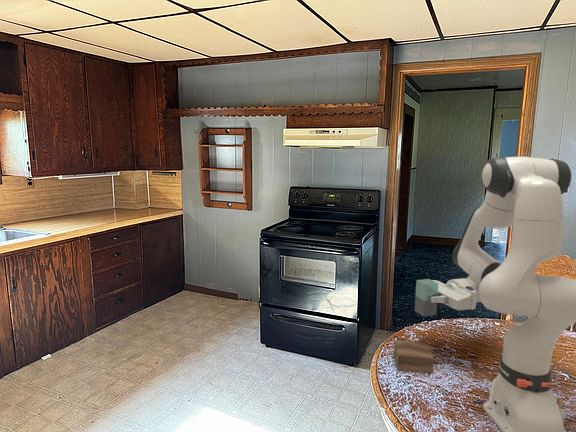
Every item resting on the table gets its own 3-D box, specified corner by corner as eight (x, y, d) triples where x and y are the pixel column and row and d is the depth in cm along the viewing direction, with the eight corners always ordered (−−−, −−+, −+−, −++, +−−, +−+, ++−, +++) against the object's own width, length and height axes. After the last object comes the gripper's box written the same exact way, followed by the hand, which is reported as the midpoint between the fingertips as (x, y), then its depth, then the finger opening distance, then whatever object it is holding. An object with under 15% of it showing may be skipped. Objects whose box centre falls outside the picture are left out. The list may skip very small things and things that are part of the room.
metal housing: (436, 314, 136) (438, 283, 134) (423, 316, 135) (425, 284, 133) (426, 309, 141) (428, 278, 139) (414, 310, 139) (416, 280, 138)
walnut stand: (432, 373, 130) (433, 358, 129) (397, 370, 131) (398, 356, 130) (426, 355, 140) (427, 342, 140) (393, 353, 142) (394, 339, 141)
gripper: (438, 274, 150) (406, 278, 146) (480, 292, 131) (445, 297, 127) (436, 290, 151) (405, 294, 147) (478, 311, 132) (444, 316, 128)
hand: (424, 296), depth 137 cm, fingers closed on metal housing, 5 cm apart
